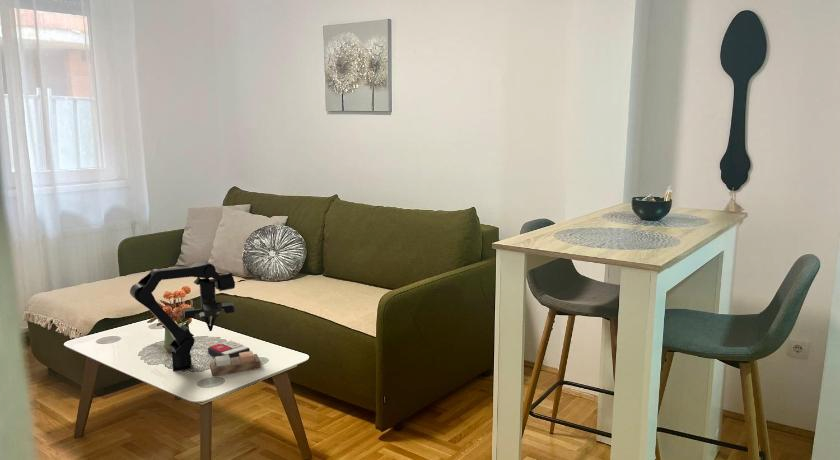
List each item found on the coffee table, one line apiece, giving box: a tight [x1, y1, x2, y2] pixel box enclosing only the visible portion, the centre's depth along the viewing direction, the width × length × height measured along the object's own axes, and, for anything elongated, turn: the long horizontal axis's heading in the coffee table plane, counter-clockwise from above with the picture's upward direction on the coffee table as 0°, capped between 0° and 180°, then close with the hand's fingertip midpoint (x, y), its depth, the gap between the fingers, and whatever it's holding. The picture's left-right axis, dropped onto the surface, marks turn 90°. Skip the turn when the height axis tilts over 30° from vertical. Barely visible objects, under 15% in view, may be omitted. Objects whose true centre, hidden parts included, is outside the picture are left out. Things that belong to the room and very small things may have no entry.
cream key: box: [214, 355, 231, 367], centre depth 239 cm, size 5×5×4 cm
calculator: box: [207, 340, 251, 358], centre depth 254 cm, size 11×4×15 cm
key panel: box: [209, 353, 262, 377], centre depth 241 cm, size 18×8×3 cm, turn 114°
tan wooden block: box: [239, 350, 255, 363], centre depth 242 cm, size 5×5×4 cm
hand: (210, 330), depth 248 cm, fingers closed
